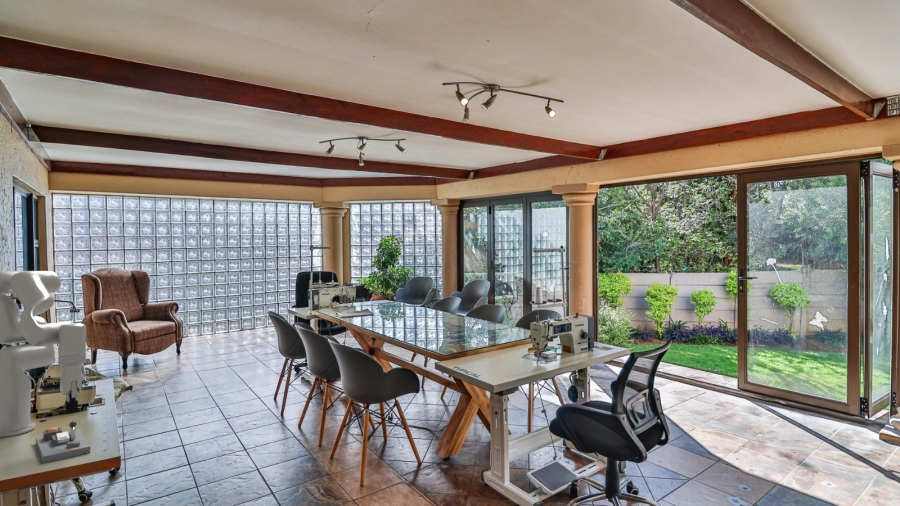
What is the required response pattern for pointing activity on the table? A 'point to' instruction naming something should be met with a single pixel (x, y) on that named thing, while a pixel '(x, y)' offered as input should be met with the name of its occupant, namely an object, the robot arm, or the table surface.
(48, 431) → the push button
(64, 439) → the rocker
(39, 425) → the table surface
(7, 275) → the robot arm
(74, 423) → the toggle lever
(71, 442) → the switch panel
